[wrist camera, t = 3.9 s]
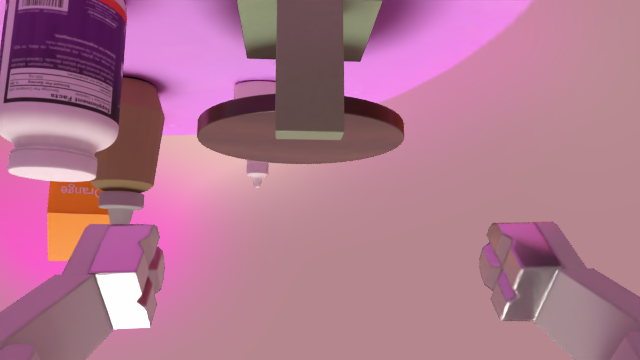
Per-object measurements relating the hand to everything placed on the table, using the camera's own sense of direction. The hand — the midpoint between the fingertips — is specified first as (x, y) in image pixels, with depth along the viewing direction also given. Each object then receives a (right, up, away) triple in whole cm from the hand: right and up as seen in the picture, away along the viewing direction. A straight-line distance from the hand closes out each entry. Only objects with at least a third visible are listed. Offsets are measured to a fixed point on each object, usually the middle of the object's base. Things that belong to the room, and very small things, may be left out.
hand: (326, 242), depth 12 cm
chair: (-1, +17, +19) cm, 26 cm away
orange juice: (-30, +11, +54) cm, 63 cm away
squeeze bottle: (-22, +13, +44) cm, 51 cm away
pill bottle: (-19, +16, +25) cm, 35 cm away
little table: (-2, +15, +28) cm, 32 cm away
